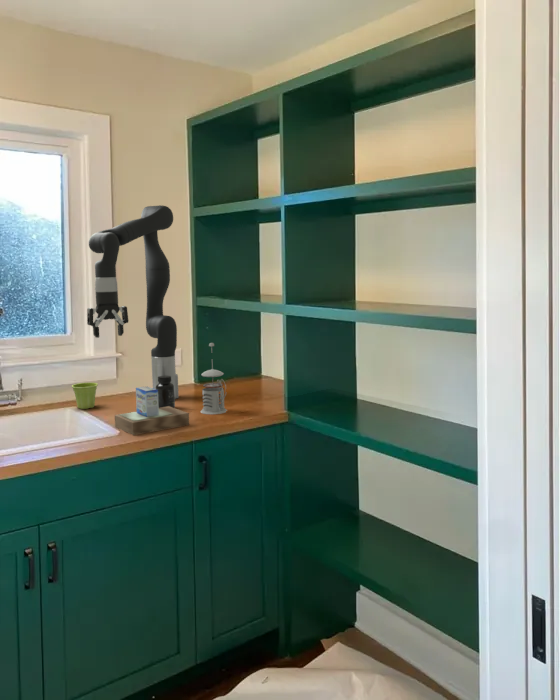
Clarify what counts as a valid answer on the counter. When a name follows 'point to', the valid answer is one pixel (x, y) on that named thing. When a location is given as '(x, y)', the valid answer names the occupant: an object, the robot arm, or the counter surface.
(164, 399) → the supplement bottle
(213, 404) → the french press
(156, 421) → the stand
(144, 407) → the medicine box
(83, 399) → the plant pot
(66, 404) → the counter surface
